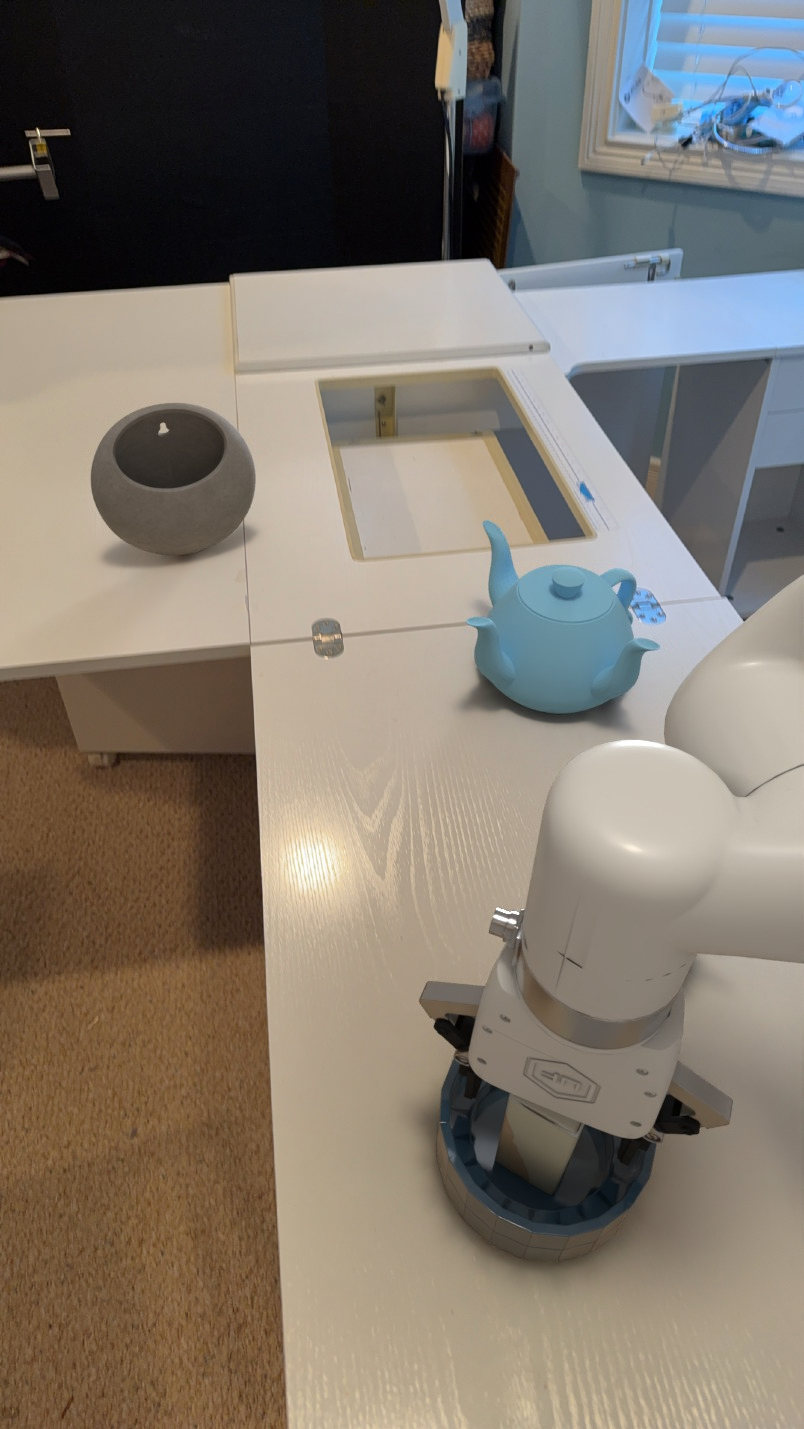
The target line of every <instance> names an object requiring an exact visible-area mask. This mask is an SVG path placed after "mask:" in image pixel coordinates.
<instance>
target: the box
mask: <svg viewBox="0 0 804 1429" xmlns="http://www.w3.org/2000/svg"><path fill="white" fill-rule="evenodd" d="M584 1125H585V1124H584V1123H581V1122H579V1121H576V1120H574V1119H571V1118H569V1117H566V1116H564V1115H561V1114H559V1113H557V1112H554V1111H552V1110H549V1109H547V1108H544V1107H542V1106H540V1105H537V1104H535V1103H533V1102H530V1101H528V1100H525V1099H523V1098H521V1097H518V1096H516V1095H514V1094H511V1093H510V1095H509V1100H508V1104H507V1109H506V1113H505V1117H504V1121H503V1126H502V1130H501V1134H500V1138H499V1143H498V1147H497V1152H496V1156H495V1161H496V1162H497V1163H499V1164H500V1165H502V1166H503V1167H505V1168H506V1169H508V1170H509V1171H511V1172H513V1173H514V1174H516V1175H517V1176H519V1177H520V1178H522V1179H524V1180H525V1181H527V1182H528V1183H530V1184H532V1185H533V1186H535V1187H537V1188H539V1189H540V1190H542V1191H544V1192H545V1193H547V1194H549V1195H553V1194H554V1193H555V1191H556V1189H557V1186H558V1184H559V1182H560V1180H561V1178H562V1176H563V1173H564V1171H565V1169H566V1167H567V1164H568V1162H569V1160H570V1158H571V1155H572V1153H573V1151H574V1149H575V1146H576V1144H577V1141H578V1139H579V1137H580V1134H581V1132H582V1129H583V1127H584Z"/></svg>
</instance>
